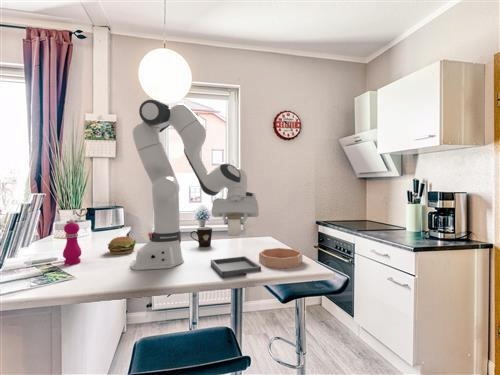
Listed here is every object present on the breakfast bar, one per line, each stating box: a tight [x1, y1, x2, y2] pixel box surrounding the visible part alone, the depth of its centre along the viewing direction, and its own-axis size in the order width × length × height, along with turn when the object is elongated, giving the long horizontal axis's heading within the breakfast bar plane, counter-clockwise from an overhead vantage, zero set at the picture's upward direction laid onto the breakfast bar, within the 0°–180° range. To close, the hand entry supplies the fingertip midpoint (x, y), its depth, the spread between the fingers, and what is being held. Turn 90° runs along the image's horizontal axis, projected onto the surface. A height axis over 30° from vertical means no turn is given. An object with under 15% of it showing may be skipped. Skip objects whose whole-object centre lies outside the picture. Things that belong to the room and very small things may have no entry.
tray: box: [210, 255, 262, 279], centre depth 122 cm, size 16×18×2 cm
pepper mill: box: [62, 218, 82, 266], centre depth 133 cm, size 7×7×20 cm
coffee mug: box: [189, 226, 213, 248], centre depth 167 cm, size 12×9×10 cm
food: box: [107, 236, 137, 255], centre depth 153 cm, size 14×14×8 cm
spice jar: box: [226, 215, 242, 237], centre depth 122 cm, size 6×6×8 cm
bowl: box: [258, 247, 303, 269], centre depth 129 cm, size 18×18×5 cm
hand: (234, 223), depth 121 cm, fingers closed on spice jar, 5 cm apart
